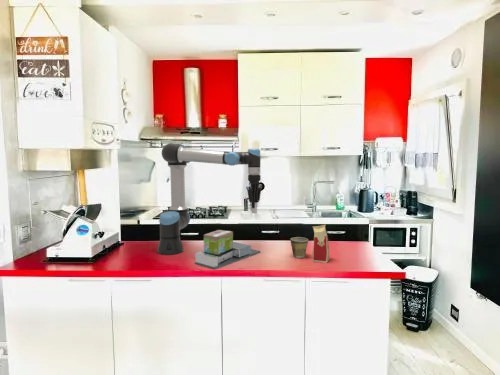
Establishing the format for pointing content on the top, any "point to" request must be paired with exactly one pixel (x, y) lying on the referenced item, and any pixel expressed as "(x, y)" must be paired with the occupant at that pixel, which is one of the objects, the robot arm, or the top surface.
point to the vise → (212, 260)
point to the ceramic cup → (299, 246)
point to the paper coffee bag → (320, 245)
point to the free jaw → (241, 249)
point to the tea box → (219, 244)
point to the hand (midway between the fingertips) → (254, 213)
